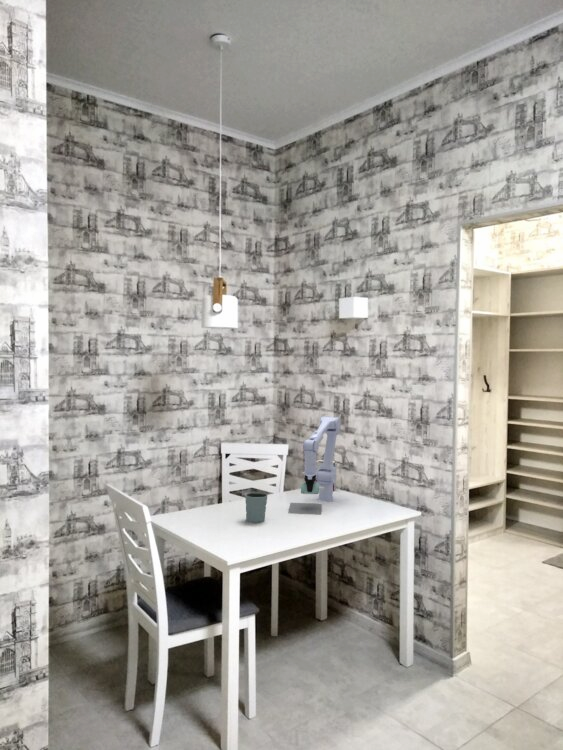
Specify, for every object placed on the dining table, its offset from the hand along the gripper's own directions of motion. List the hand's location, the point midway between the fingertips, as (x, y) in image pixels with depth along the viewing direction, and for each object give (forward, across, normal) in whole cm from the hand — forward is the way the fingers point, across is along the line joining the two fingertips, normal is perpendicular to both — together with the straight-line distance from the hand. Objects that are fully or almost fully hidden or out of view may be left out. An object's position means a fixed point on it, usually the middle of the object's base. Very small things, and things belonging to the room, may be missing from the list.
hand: (309, 490), depth 288 cm
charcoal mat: (+9, +2, -2) cm, 9 cm away
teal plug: (+1, 0, +1) cm, 2 cm away
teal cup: (+9, +24, -24) cm, 35 cm away
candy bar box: (+9, -42, +8) cm, 44 cm away
